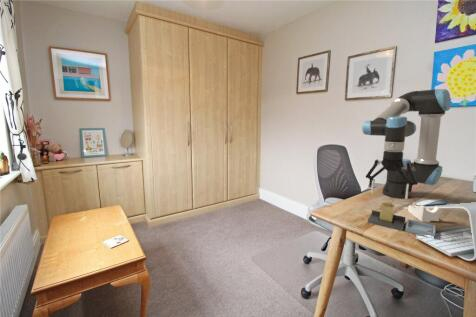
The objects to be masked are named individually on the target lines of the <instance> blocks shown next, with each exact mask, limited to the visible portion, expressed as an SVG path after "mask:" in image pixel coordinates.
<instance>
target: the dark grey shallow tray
mask: <svg viewBox="0 0 476 317" xmlns="http://www.w3.org/2000/svg"><path fill="white" fill-rule="evenodd" d="M379 219H380V211H378V210H374V209H372V210H371V214H370V216H369V217H368V219H367V223H369V224H373V225H377V226H381V227H385V228H389V229H393V230H397V231H400V232H403V231H404V228H405V225H406V224H405V223H406V217H405V216H402V215H396V214H394V218H393V224H391V223H387V222H383V221H379Z"/></svg>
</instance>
